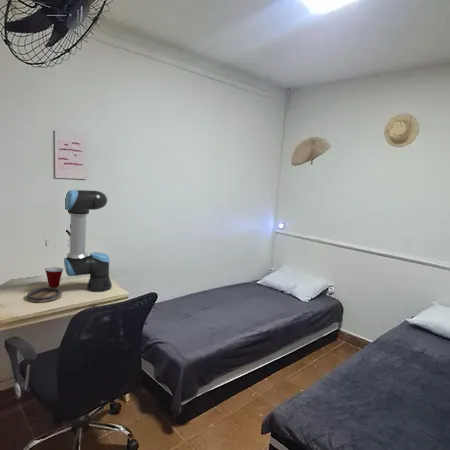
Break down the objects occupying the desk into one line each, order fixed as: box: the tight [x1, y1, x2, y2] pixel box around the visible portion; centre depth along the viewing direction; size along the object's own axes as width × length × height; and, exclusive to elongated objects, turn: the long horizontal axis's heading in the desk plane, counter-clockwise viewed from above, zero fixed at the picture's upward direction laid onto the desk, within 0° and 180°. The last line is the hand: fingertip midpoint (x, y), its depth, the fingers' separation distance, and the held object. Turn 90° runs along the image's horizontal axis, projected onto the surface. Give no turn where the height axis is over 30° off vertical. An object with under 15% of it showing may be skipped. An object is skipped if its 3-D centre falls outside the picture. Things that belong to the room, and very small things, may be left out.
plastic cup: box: [44, 266, 65, 288], centre depth 214 cm, size 11×11×12 cm
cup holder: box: [26, 287, 63, 304], centre depth 197 cm, size 18×18×3 cm
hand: (57, 245), depth 220 cm, fingers open, 13 cm apart
